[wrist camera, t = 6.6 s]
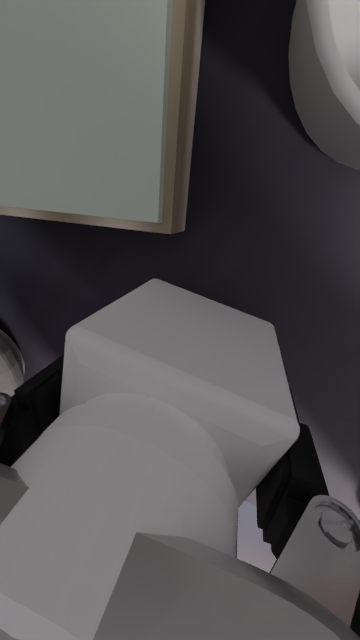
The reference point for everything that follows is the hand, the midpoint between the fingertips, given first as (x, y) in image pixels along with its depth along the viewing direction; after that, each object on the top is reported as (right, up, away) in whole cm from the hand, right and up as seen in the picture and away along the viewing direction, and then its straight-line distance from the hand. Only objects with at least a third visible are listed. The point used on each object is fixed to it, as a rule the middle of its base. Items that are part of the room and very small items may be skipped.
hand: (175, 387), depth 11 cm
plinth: (-5, +15, +2) cm, 16 cm away
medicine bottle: (+1, +1, +3) cm, 4 cm away
